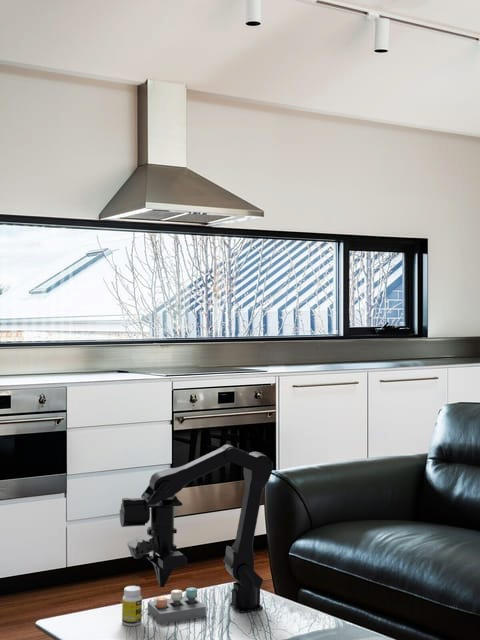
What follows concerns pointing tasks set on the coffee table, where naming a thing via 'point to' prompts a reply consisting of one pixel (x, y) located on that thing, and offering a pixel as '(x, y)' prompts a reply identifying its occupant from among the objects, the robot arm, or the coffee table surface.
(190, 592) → the light blue egg
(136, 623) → the supplement bottle
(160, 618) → the panel
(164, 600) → the peach orange egg
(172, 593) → the cream white egg
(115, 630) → the coffee table surface
